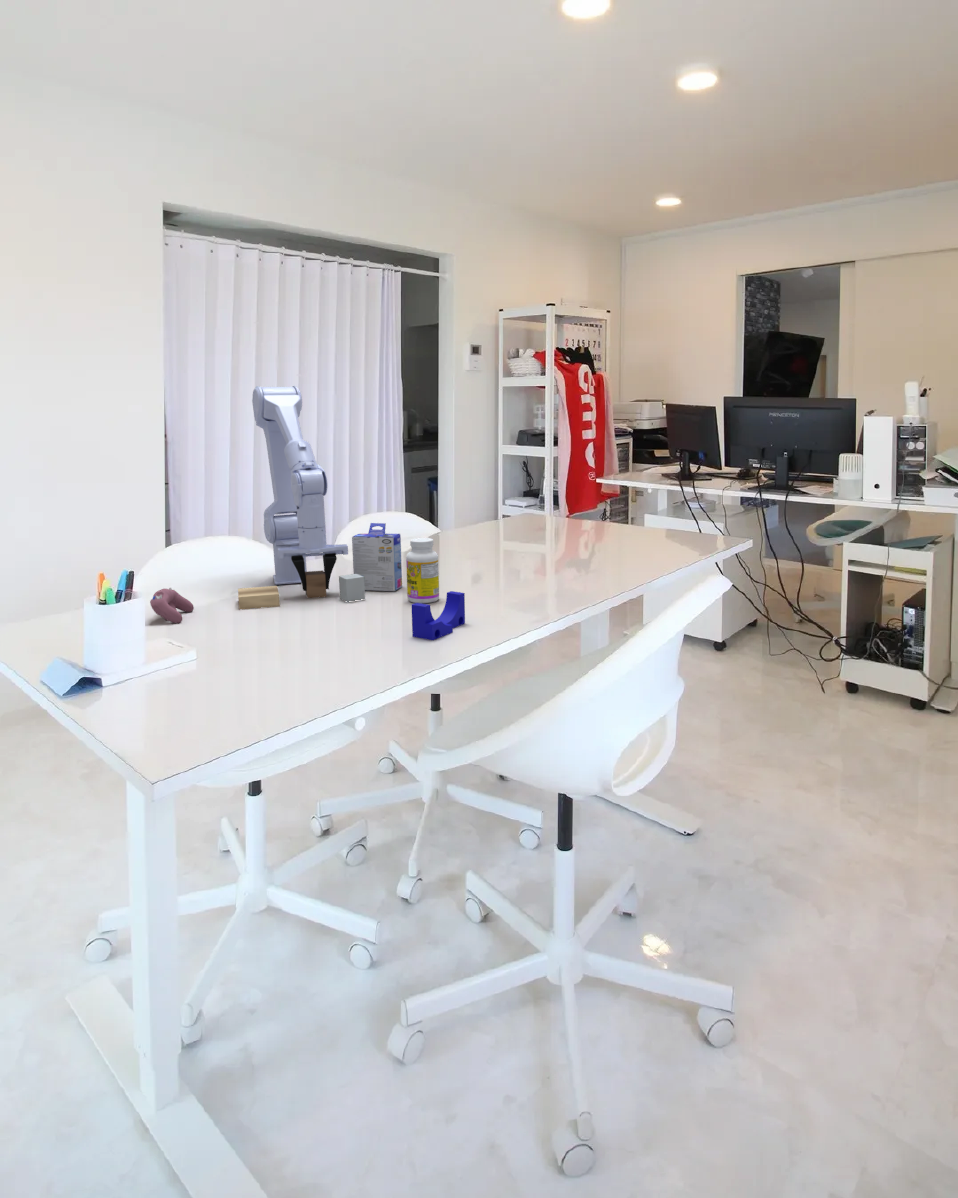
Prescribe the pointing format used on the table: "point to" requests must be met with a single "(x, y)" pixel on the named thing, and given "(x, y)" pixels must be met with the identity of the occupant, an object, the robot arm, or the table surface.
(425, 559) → the supplement bottle
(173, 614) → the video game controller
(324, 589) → the walnut block
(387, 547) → the ink cartridge box
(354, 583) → the grey block
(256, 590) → the oak slab
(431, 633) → the blue cradle holder
